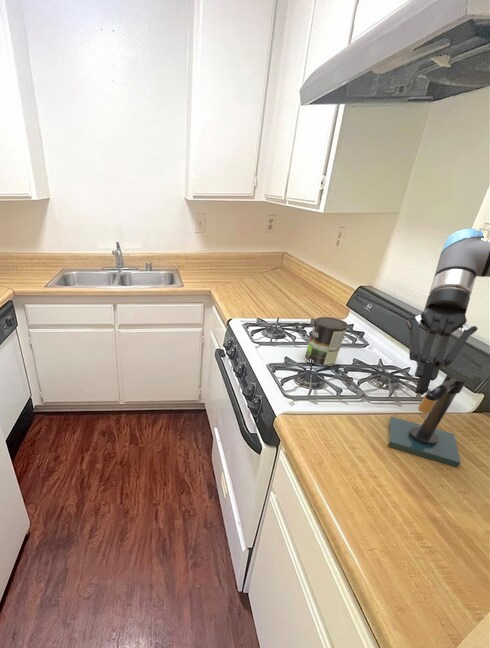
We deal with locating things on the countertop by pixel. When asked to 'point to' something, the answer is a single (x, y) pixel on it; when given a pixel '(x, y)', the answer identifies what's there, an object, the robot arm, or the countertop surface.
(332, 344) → the coffee can
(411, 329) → the robot arm
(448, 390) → the spout
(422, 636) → the countertop surface
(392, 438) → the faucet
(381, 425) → the countertop surface
